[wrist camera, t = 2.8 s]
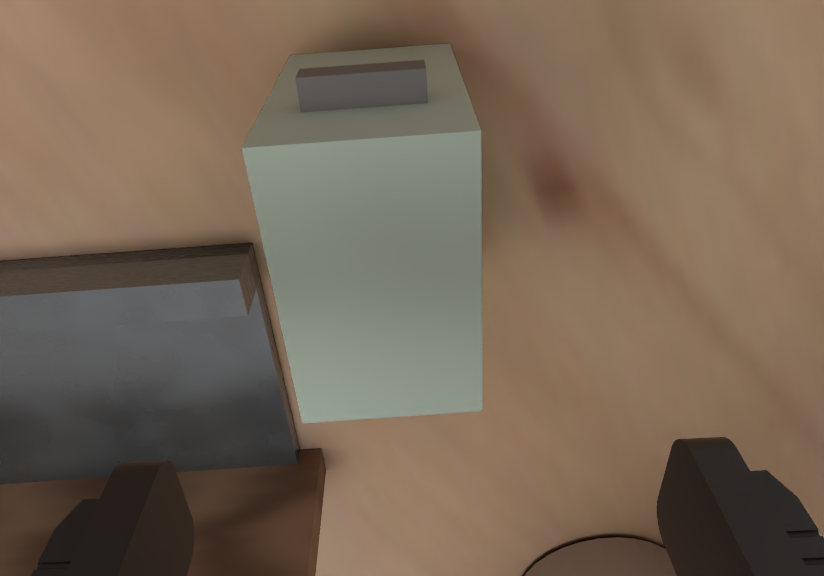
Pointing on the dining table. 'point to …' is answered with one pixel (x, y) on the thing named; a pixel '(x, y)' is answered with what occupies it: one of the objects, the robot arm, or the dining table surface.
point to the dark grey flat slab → (139, 365)
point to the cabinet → (373, 231)
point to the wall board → (212, 515)
